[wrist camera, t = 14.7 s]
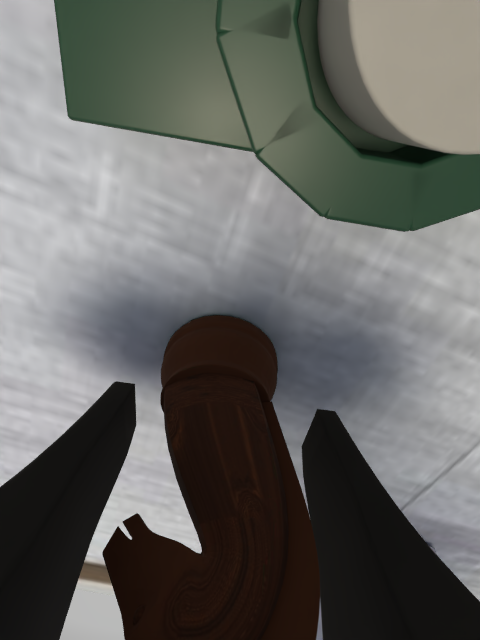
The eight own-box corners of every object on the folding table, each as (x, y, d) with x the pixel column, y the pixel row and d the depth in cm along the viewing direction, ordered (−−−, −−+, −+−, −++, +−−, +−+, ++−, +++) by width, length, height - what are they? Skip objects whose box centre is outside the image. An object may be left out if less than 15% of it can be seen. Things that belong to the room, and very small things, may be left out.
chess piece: (154, 316, 12) (-56, 749, 4) (288, 308, 12) (366, 773, 4) (178, 400, 15) (79, 777, 6) (289, 396, 14) (338, 792, 6)
